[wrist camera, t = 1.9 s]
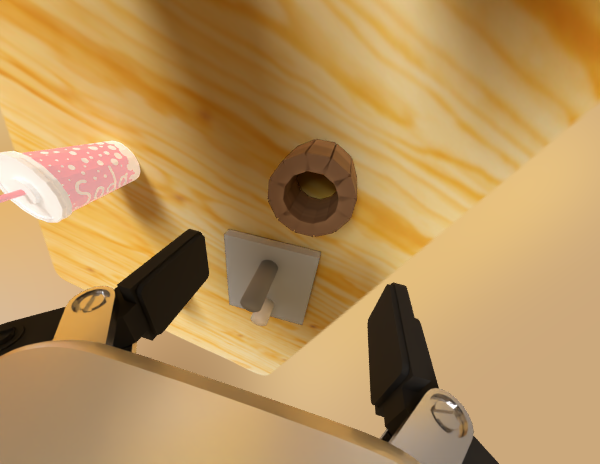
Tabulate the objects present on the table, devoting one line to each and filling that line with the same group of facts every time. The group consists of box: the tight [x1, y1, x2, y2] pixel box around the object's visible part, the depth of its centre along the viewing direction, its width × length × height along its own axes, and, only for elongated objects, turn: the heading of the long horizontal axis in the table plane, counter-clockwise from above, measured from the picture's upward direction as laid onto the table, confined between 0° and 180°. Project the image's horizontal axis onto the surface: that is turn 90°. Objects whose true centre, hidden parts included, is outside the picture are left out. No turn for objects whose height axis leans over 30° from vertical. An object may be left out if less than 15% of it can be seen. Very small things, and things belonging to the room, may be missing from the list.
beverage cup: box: [0, 141, 140, 222], centre depth 19 cm, size 6×6×14 cm
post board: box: [224, 229, 321, 326], centre depth 28 cm, size 14×12×7 cm
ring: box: [268, 139, 357, 237], centre depth 19 cm, size 7×7×5 cm
